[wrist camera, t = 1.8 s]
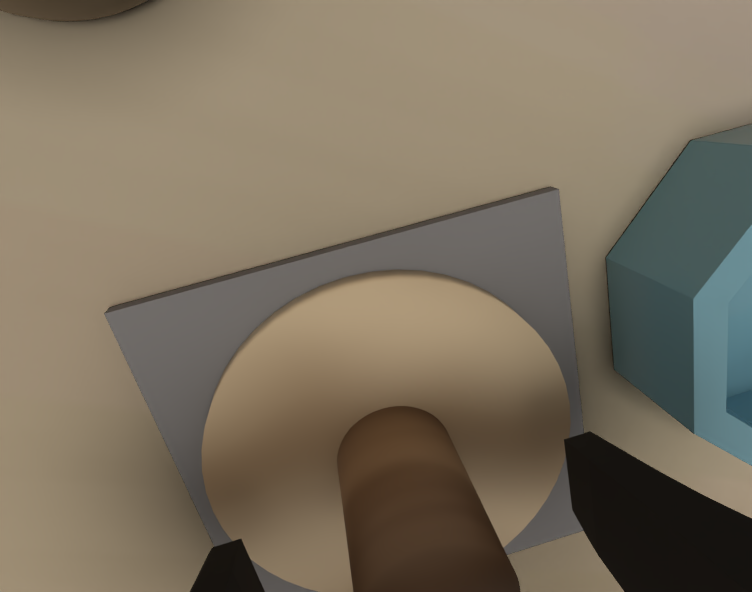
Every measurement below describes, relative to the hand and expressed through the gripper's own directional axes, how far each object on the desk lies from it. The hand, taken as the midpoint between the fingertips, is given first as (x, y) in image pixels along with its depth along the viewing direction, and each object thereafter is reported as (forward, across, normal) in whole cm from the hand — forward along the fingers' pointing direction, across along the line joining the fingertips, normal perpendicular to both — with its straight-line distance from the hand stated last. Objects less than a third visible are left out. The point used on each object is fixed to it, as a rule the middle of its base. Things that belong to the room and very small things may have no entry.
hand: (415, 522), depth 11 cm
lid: (+3, 0, 0) cm, 3 cm away
